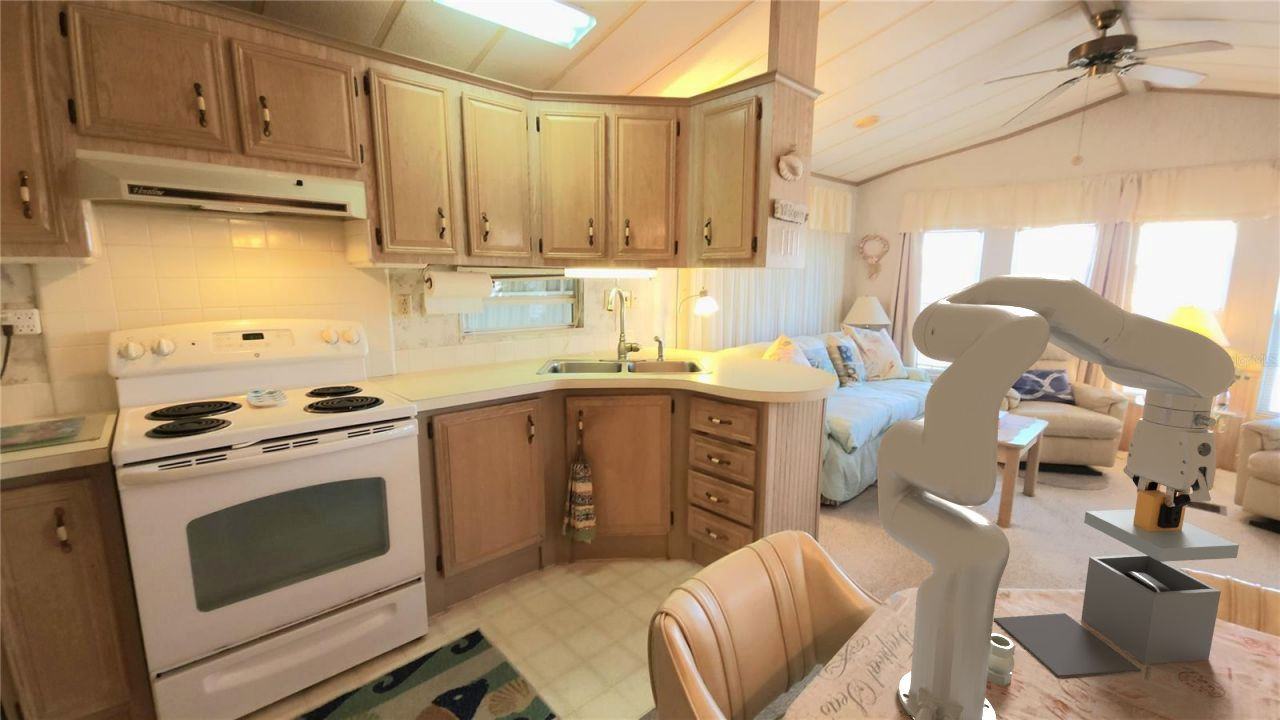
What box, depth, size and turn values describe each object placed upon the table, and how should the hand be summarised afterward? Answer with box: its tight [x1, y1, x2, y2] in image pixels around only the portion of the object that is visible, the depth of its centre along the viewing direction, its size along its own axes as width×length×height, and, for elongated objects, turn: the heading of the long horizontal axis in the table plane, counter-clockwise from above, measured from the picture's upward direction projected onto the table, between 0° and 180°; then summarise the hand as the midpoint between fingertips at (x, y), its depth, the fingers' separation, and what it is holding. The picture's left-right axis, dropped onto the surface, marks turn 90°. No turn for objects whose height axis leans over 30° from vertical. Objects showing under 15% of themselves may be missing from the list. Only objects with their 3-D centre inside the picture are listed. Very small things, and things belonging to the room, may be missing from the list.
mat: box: [993, 613, 1142, 678], centre depth 90 cm, size 14×14×1 cm
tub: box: [1081, 553, 1222, 666], centre depth 90 cm, size 11×11×12 cm
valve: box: [987, 633, 1016, 687], centre depth 87 cm, size 7×7×12 cm
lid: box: [1083, 489, 1240, 562], centre depth 87 cm, size 13×13×8 cm
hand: (1157, 521), depth 87 cm, fingers closed on lid, 2 cm apart
